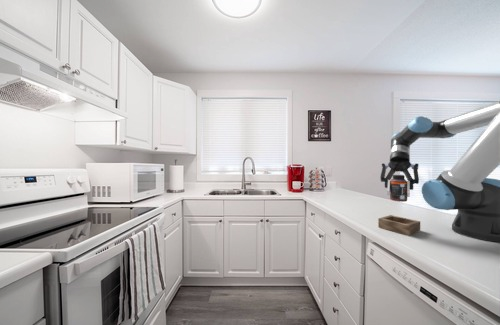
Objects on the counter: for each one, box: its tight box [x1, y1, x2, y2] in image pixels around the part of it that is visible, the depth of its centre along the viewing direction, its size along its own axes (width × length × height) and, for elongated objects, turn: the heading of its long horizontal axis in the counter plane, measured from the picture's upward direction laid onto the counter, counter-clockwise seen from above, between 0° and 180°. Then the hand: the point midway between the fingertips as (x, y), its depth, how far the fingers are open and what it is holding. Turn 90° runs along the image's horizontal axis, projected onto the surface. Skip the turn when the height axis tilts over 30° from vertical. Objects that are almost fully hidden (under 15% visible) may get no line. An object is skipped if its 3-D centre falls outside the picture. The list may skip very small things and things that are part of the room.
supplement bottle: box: [389, 174, 408, 202], centre depth 81 cm, size 6×6×11 cm
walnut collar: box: [377, 214, 421, 237], centre depth 81 cm, size 11×11×4 cm
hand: (398, 193), depth 78 cm, fingers closed on supplement bottle, 6 cm apart
